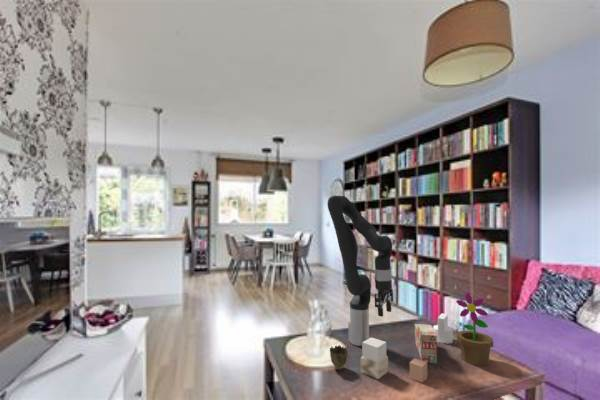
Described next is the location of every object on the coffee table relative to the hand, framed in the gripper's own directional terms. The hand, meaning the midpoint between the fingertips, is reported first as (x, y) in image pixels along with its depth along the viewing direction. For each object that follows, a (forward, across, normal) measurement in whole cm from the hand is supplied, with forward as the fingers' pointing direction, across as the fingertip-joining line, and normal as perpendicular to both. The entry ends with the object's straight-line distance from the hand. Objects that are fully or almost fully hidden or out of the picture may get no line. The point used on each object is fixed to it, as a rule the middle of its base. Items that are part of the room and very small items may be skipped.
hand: (384, 313), depth 148 cm
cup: (+17, +27, -8) cm, 33 cm away
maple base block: (+18, +20, +4) cm, 27 cm away
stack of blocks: (+18, -12, +13) cm, 26 cm away
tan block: (+18, +12, +19) cm, 30 cm away
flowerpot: (+19, -18, +33) cm, 42 cm away
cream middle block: (+12, +20, +4) cm, 23 cm away
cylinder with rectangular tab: (+18, -32, +15) cm, 40 cm away
